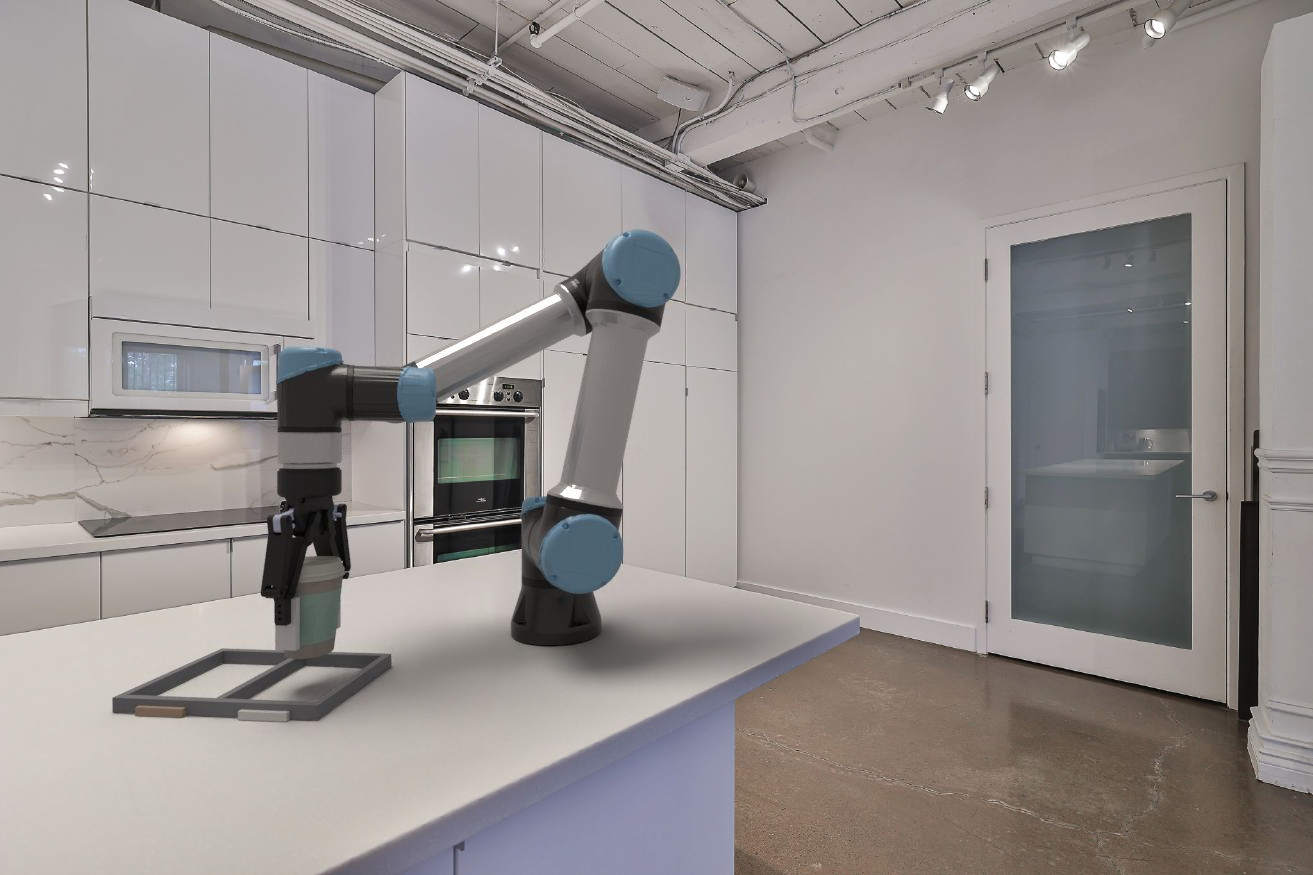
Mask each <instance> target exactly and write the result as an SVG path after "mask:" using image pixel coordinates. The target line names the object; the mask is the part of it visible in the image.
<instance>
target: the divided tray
mask: <svg viewBox="0 0 1313 875" xmlns="http://www.w3.org/2000/svg"><path fill="white" fill-rule="evenodd" d="M222 664H235V665H236V664H237V665H238V664H240V665H241V664H242V665H243V664H244V665H249V664H250V665H265V666H266V665H268V666H269V665H271V666H272V667H270V668H269V669H266V670H265V671H263V672H261V673H259V674H257V675H256V676H254V677H252V678H250V679H248V680H246V681H245V682H243V683H241V684H239V685H237V686H235V687H234V688H232V689H230V690H228V691H226V692H224V693H223V694H221V695H219V696H217V697H202V696H201V697H198V696H197V697H195V696H174V695H173V696H172V695H171V696H170V695H169V696H168V695H161V694H162V693H164V692H166V691H168V690H172V689H173V688H175V687H177V686H178V685H181V684H183V683H186V682H187V681H189V680H191V679H193V678H195V677H197V676H199V675H202V674H203V673H205V672H208V671H209V670H212V669H214V668H217V667H218V666H220V665H222ZM304 667H329V668H331V667H333V668H334V667H335V668H360V670H358V671H356V673H354V674H352V675H351V676H350V677H349V678H347V679H346V680H344V681H343V682H341V683H339V685H337V686H336V687H334V688H332V689H331V690H329V691H328V692H326V693H325V694H324V695H322V696H321V697H320V698H318V699H317V700H315V701H307V700H306V701H301V700H277V699H276V700H275V699H274V700H273V699H253V698H252V697H254V696H256V695H258V694H259V693H261V692H262V691H263V692H264V691H265V690H266V689H268V688H269V687H271V686H273V685H276V684H277V683H278V682H279V681H281V680H284V679H285V678H287V677H288V676H290V675H292V674H294V673H295V672H297V671H298V670H300V669H302V668H304ZM391 667H392V653H385V652H384V653H381V652H380V653H376V652H352V651H351V652H348V651H346V652H345V651H332V652H330V653H328V654H326V655H323V656H319V657H315V658H308V659H291V658H287V657H285V655H284V650H275V649H258V648H257V649H254V648H220V649H218V650H215V651H212V652H211V653H209V654H206V655H204V656H202V657H200V658H198V659H197V658H196V659H195V660H193V661H191V662H189V663H186V664H184V665H182V666H179V667H177V668H175V669H173V670H171V671H168V672H167V673H164V674H161V675H160V676H157V677H155V678H153V679H151V680H148V681H146V682H144V683H142V684H140V685H137V686H135V687H134V688H133V687H132V688H131V689H128V690H126V691H124V692H122V693H120V694H117V695H115V696H113V697H112V698H111V700H112V701H111V702H112V708H111V710H112V713H115V714H116V713H118V714H134V716H135V717H158V718H177V719H178V718H179V719H181V718H185V717H189V716H190V717H191V716H192V717H216V718H218V717H219V718H237V720H238V721H255V722H257V721H258V722H277V723H278V722H280V723H287V722H289V721H309V722H310V721H314V722H318V721H320V720H321V719H322V718H324V717H325V716H326V715H328V714H329V713H330V712H332V711H333V710H334V709H336V708H337V707H339V706H340V705H341V704H343V703H344V702H345V701H347V700H348V699H350V698H351V697H352V696H353V695H355V694H356V693H357V692H359V691H360V690H362V689H363V688H365V686H367V685H368V684H369V683H371V682H372V681H374V680H375V679H376V678H377V677H379V676H380V675H381V674H383V673H384V672H386V671H387V670H388V669H390V668H391ZM251 698H252V699H251Z"/></svg>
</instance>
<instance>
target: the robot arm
mask: <svg viewBox="0 0 1313 875" xmlns="http://www.w3.org/2000/svg"><path fill="white" fill-rule="evenodd" d="M677 255H678V254H677V253H675V251H674V249H673V246H671V244H670V243H669V242H668V241H667V240H666V239H665V238H664V237H662V236H661V235H659V234H657V233H655V232H653V231H650V230H646V229H639V228H637V229H631V230H626V231H624V232H622V233H620V234H618V235H615V236H614V237H613V238H612V239H610V240H608V241H607V244H606V245H605V247H604V248H603V249H601V251H599V252H598V253H597V254H596V255H594V257H593V258H592V259H590V261H589V262H588V263H586V264H585V265H584V266H583V267H582V268H581V269H580V270H579V271H577V272H575V273H574V274H573V275H572V276H570V277H568V278H567V279H565V280H562V281H561V282H559V283H557V284H555V285H554V288H553V291H552V293H550V294H548V295H546V296H544V297H542V298H540V299H538V300H535V301H534V302H532V303H529V304H527V305H526V306H524V307H522V308H520V309H517V310H515V311H513V312H512V313H510V314H507V315H506V316H504V317H501V318H498V319H497V320H495V321H493V322H491V323H488V324H487V325H485V326H483V327H481V328H479V329H476V330H474V331H473V332H471V333H468V334H467V335H464V336H462V337H460V338H458V339H456V340H454V341H452V342H450V343H448V344H446V345H444V346H442V347H439V348H437V349H436V350H433V351H431V352H429V353H427V354H425V355H423V356H421V357H419V358H417V359H415V360H413V361H411V362H410V363H409V362H408V363H406V364H404V365H401V366H384V365H381V366H379V365H378V366H376V365H373V366H372V365H371V366H370V365H355V364H353V365H352V364H347V363H344V360H343V356H342V353H341V352H340V351H339V350H338V349H334V348H330V347H329V348H327V347H318V346H289V347H286V348H283V349H282V350H281V351H280V352H279V355H278V369H277V372H278V373H277V380H276V382H275V383H276V400H277V401H276V405H277V406H276V407H277V408H276V410H277V411H276V412H277V418H276V419H277V463H278V464H279V465H282V467H281V468H279V469H278V470H277V472H276V478H277V479H276V488H277V490H276V493H277V495H278V496H279V497H280V498H284V499H285V506H284V509H283V512H282V513H280V514H269V515H268V516H267V518H266V525H267V526H266V527H267V532H268V533H267V539H266V540H267V542H266V548H265V554H264V556H265V557H264V564H263V572H262V578H261V585H260V586H261V587H260V596H261V597H262V598H265V599H273V601H274V602H273V603H274V606H273V608H274V609H273V610H274V612H273V613H274V617H273V619H274V620H273V622H274V625H275V626H274V631H275V633H274V636H275V637H274V639H275V640H274V643H275V644H274V647H275V648H274V650H289V651H296V650H298V649H300V597H294V596H295V593H296V589H297V585H298V581H299V578H300V574H301V570H302V566H303V563H304V559H305V557H306V554H307V551H308V547H310V546H311V545H313V548H314V550H315V554H316V555H315V556H334V557H339V558H341V561H342V564H343V566H344V568H345V569H344V571H345V572H346V573H345V574H344V575H343V580H348V579H349V577H350V571H351V570H352V563H351V561H352V560H351V554H350V544H349V536H348V527H347V526H348V525H347V513H348V512H347V511H348V505H347V504H346V503H334V500H333V497H335V496H338V495H340V494H341V493H342V491H343V490H342V488H343V487H342V486H343V484H342V479H343V478H342V476H343V475H342V474H343V473H342V469H341V468H340V466H338V464H341V462H343V444H342V443H343V440H342V439H343V438H342V434H343V432H342V431H343V430H342V429H343V428H342V423H343V422H344V421H347V422H385V423H390V424H402V423H409V424H412V423H419V422H420V423H421V422H431V421H433V420H434V418H435V417H436V412H437V410H436V409H437V404H439V403H442V402H444V401H445V400H448V399H449V398H451V397H453V396H455V395H457V394H459V393H461V392H463V391H465V390H467V389H470V388H471V387H473V386H474V385H476V384H479V383H481V382H482V381H485V380H487V379H488V378H491V377H492V376H495V375H497V374H498V373H500V372H502V371H504V370H507V369H508V368H511V367H512V366H514V365H516V364H518V363H520V362H523V361H524V360H526V359H528V358H530V357H532V356H534V355H536V354H538V353H540V352H542V351H544V350H546V349H548V348H550V347H552V346H553V345H556V344H558V343H559V342H561V341H563V340H565V339H567V338H570V337H571V336H573V335H574V336H578V337H585V336H586V335H588V334H590V340H589V345H588V349H587V352H586V353H587V354H586V358H585V363H584V367H583V371H582V372H583V373H582V378H581V382H580V385H579V386H580V387H579V391H578V396H577V401H576V405H575V411H574V415H573V420H572V425H571V430H570V434H569V438H568V443H567V449H566V452H565V458H564V462H563V466H562V472H561V476H560V481H559V482H558V483H557V484H556V485H555V486H553V487H551V488H550V489H549V490H547V492H546V495H545V496H531V497H527V498H525V499H524V500H523V501H522V504H521V513H520V515H519V516H520V518H519V519H520V520H521V586H520V587H521V589H520V591H519V595H518V597H517V600H516V604H515V606H514V611H513V613H512V617H511V619H510V620H511V621H510V635H511V637H512V638H513V639H514V640H516V641H518V642H522V643H525V644H529V645H536V646H537V645H538V646H562V645H569V644H577V643H581V642H586V641H588V640H592V639H594V638H595V637H597V636H599V634H601V632H602V616H601V613H600V612H601V611H600V609H599V607H598V603H597V600H596V597H595V596H596V595H595V593H594V592H596V591H598V590H600V589H601V588H603V587H604V586H606V585H607V584H608V583H610V582H611V581H613V578H614V577H616V575H617V573H618V572H619V570H620V568H621V565H622V562H623V558H624V543H623V539H622V535H621V534H620V532H619V531H620V527H621V521H622V516H623V511H624V505H623V503H622V501H621V500H620V499H619V497H618V495H617V492H618V491H617V490H618V486H619V481H620V476H621V471H622V465H623V461H624V456H625V451H626V448H627V443H628V442H627V441H628V437H629V433H630V428H631V424H632V418H633V413H634V409H635V404H636V400H637V395H638V389H639V385H640V380H641V375H642V370H643V365H644V360H645V356H646V351H647V345H648V342H649V340H650V339H651V338H653V337H654V336H655V335H658V334H659V333H660V331H661V327H662V322H663V318H664V313H665V312H664V311H665V308H666V304H667V303H668V302H669V301H670V300H671V299H672V298H673V296H674V295H675V294H676V292H677V290H678V288H679V285H680V281H681V274H682V273H681V272H682V271H681V265H680V262H679V261H680V260H679V259H678V256H677ZM286 588H287V589H286ZM341 597H342V596H341ZM341 597H340V605H339V613H338V621H337V629H340V628H341V621H342V620H341V617H342V616H341V614H342V613H341V611H342V610H341V609H342V608H341V607H342V606H341V605H342V604H341V603H342V602H341V601H342V600H341V599H342V598H341ZM337 629H336V630H337Z"/></svg>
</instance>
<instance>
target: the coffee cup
mask: <svg viewBox="0 0 1313 875" xmlns="http://www.w3.org/2000/svg"><path fill="white" fill-rule="evenodd" d="M342 563H343V561H341V558H339V557H334V556H317V555H310V556H305V559H304V563H303V566H302V570H301V574H300V578H299V581H298V585H297V589H296V593H295V596H294V597H300V649H298V650H296V651H289V650H284V655H285V657H287V658H291V659H308V658H315V657H319V656H323V655H326V654H328V653H330V652H334V649H335V643H336V636H337V635H336V634H337V621H338V613H339V605H340V597H342V588H343V580H344V579H343V575H344V574H345V573H346V572H345V571H344V569H345V568H344V566H343V564H342ZM286 589H287V588H286Z"/></svg>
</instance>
